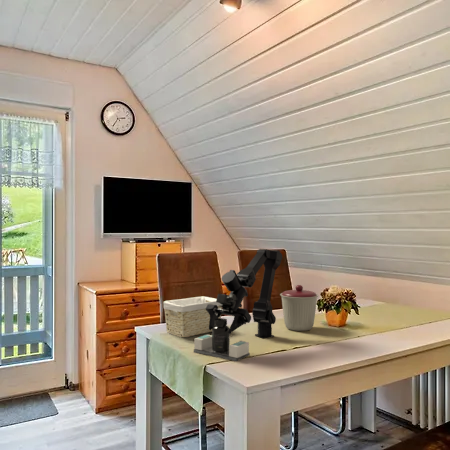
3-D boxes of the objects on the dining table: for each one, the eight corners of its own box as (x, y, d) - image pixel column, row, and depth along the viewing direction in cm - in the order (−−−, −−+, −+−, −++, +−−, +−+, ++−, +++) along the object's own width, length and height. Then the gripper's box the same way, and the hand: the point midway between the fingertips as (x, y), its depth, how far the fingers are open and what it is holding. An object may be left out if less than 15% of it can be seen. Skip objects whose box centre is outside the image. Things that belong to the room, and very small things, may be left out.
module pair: (194, 348, 168) (194, 338, 168) (206, 344, 175) (207, 334, 175) (237, 357, 157) (237, 346, 157) (248, 352, 163) (248, 341, 163)
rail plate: (193, 352, 168) (193, 349, 168) (207, 346, 175) (207, 344, 175) (236, 361, 156) (236, 358, 156) (249, 355, 164) (249, 352, 164)
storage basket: (181, 339, 187) (181, 305, 187) (161, 332, 200) (161, 300, 200) (223, 331, 202) (223, 299, 203) (203, 325, 215) (203, 295, 215)
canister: (321, 326, 212) (321, 283, 212) (313, 335, 196) (313, 288, 196) (286, 323, 220) (286, 281, 220) (275, 330, 203) (275, 286, 203)
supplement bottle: (213, 347, 170) (213, 317, 170) (230, 348, 169) (230, 317, 169) (210, 352, 163) (211, 321, 163) (229, 353, 162) (229, 321, 162)
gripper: (208, 284, 174) (190, 315, 165) (247, 287, 164) (230, 322, 155) (219, 300, 181) (203, 332, 172) (258, 305, 170) (242, 339, 161)
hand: (219, 331), depth 165 cm, fingers open, 9 cm apart
